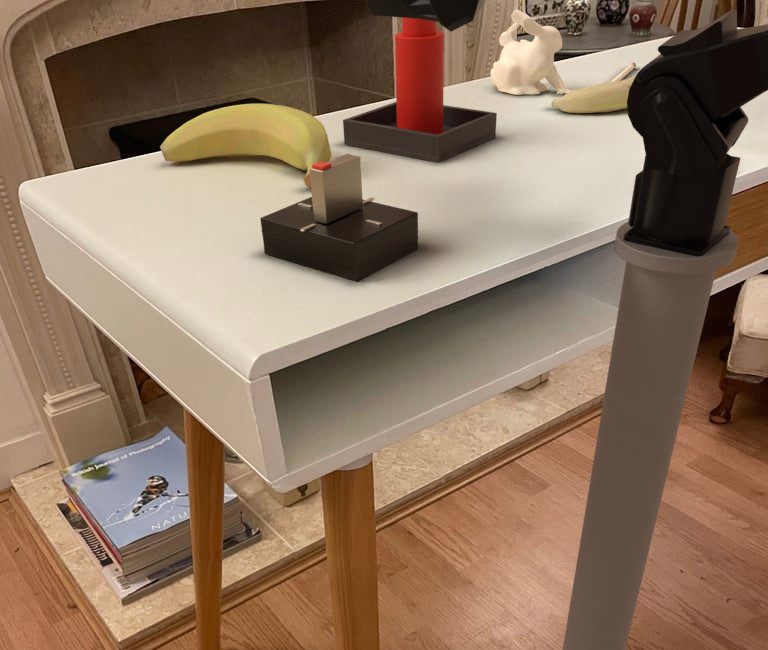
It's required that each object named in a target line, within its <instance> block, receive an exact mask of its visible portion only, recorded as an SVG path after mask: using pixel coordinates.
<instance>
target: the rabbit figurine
mask: <svg viewBox="0 0 768 650" xmlns="http://www.w3.org/2000/svg"><path fill="white" fill-rule="evenodd" d="M510 18H511V20H512V21H513V22H514V23H513V24H512V25H511V26H509V27H508V28H507V30H506V31H503V32H502V33H501V34H500V36H499V38H498V39H499V40H498V41H499V45H500V46H501V47H503V48H502V49H501V53H500V56H499V59H498V60H497V61H496V60H494V63H493V64H492V65H493V67H492V68H491V70H490V78H491V80H492V82H493V84H494V85H495V86H496V87H497V90H498V91H499V92H502V93H503V92H504V93H507V94H510V95H515V96H516V95H518V96H520V95H540V94H541V92H546V91H548V90H547V85H546V84H545V83H543V82H541V81H542V80H544V79H545V80H546V81H547V83H549V85H550V86H551V87H552V88H553V89H555V90H556V95H559V94H560V95H563V94H565V95H566V94H568V93H570V92H572V91H574V90H573V89H567V88H566V86H565V83H564V82H563V79H562V77H561V76H560V74H559V72H558V70H557V68H556V66H555V53H557V52H558V51H560V50H562V48H563V38H562V35H561V33H560V30H558V29H557V28H556V27H555V26H552V25H541V24H540V23H538V22H537V21H535V20H534V19H533V18H532V17H531V16H530V15H528V14H527V13H526V12H523V11H521V10H520V9H514V10H513V11H512V13H511V15H510ZM519 26H520V27H522V29H523V30H524V31H525V33H527V34H529V35H531V36H534V38H533V40H532V41H529V40H527V39H520V41H516V40H514V39H513V35H512V33H513V32H514V31H515V30H516V29H517V28H519Z"/></svg>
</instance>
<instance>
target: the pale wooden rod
mask: <svg viewBox="0 0 768 650" xmlns="http://www.w3.org/2000/svg"><path fill="white" fill-rule="evenodd" d="M636 67H637V64H636V62H631V63H630V64H629V65H628V66H626V68H624V69H623V70H622V71H621V72H620V73H618V74H617V75H616V76H615V77H614V78H613V79H611V80H610V81H609V82H608V83H610V82H615V81H621V80H624V78H625V77H627V75H629V74H630V73H631V72H632V71H633V70H634V69H635V68H636Z"/></svg>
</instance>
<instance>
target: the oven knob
mask: <svg viewBox="0 0 768 650" xmlns="http://www.w3.org/2000/svg"><path fill="white" fill-rule="evenodd" d="M361 163H362V162H361V156H360V155H359V156H358V155H354V154H349V153H346V154H343V155H341V156H338V157H336V158H333V159H330V161H328V162H318V163H315V164H313V165H312V168H310V169H309V170H310V182H311V189H310V192H311V197H312V204H313V215H314V221H317V222H321V223H325V224H328V223H330V222H332V221H334V220H337V219H339V218H341V217H343V216H346V215H348V214H350V213H352V212H354V211H357V210H359V209H361V208H363V200H364V199H363V185H362V164H361Z"/></svg>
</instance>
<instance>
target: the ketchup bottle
mask: <svg viewBox="0 0 768 650" xmlns="http://www.w3.org/2000/svg"><path fill="white" fill-rule="evenodd" d="M401 21H402V22H401V25H402V26H401V27H402V29H401V31H400V32H397V33H396V34H395V35H394V47H395V48H394V55H395V61H394V62H395V98H396V99H395V100H396V101H395V102H396V106H397V128H403V129H409V130H415V131H421V132H426V133H432V134H437V135H438V134H440V133H443V105H444V89H445V88H444V83H445V81H444V79H445V78H444V77H445V70H444V69H445V68H444V67H445V33H444V32H443V31H440V30H438V29H437V28H438V27H437V26H438V25H437V23H438V22H436V21H429V20H423V19H414V18H402V17H401Z"/></svg>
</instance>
